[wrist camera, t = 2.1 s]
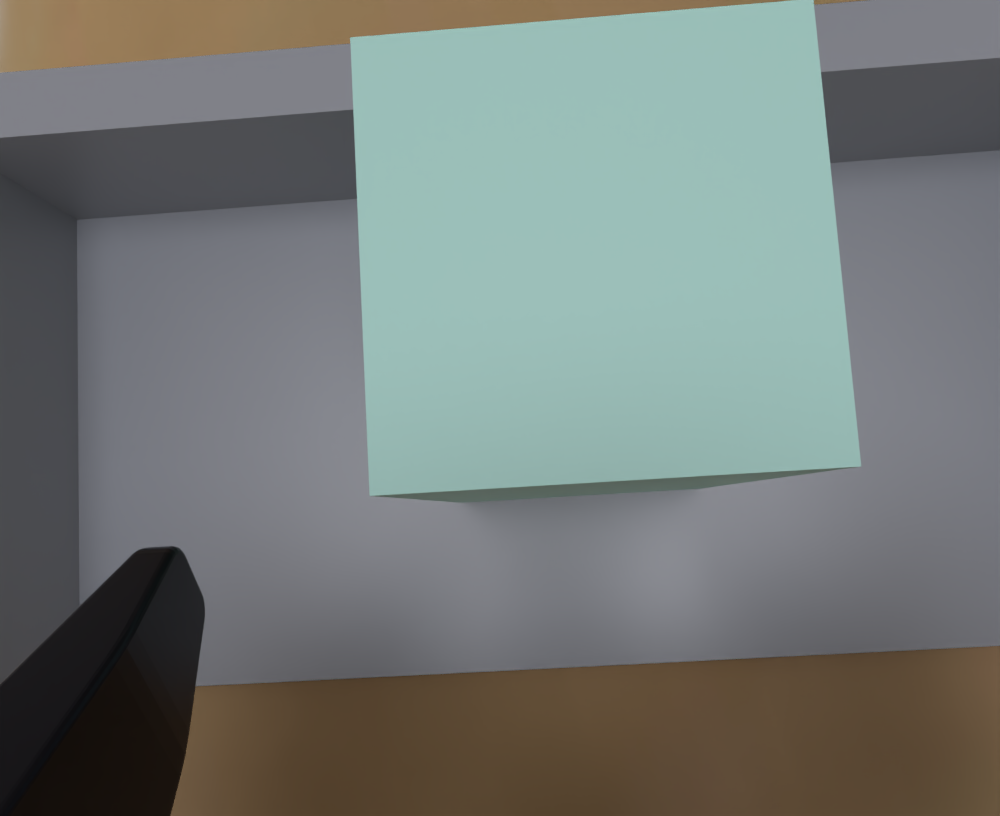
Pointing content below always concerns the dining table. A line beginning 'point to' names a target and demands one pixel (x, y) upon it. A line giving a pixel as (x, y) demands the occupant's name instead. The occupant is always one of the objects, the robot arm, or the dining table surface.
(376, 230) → the green block
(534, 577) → the open crate
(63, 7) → the dining table surface
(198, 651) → the robot arm
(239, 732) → the dining table surface
